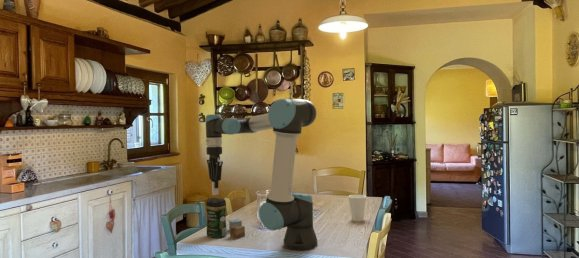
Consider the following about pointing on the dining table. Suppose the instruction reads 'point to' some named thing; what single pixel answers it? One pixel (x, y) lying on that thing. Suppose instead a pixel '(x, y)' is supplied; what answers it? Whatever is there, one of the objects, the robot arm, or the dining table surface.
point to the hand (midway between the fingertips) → (215, 194)
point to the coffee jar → (216, 217)
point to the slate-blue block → (234, 223)
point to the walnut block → (237, 231)
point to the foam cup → (357, 207)
